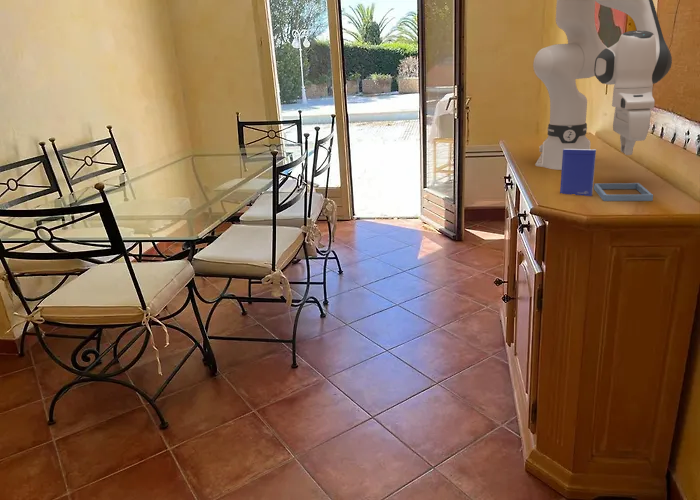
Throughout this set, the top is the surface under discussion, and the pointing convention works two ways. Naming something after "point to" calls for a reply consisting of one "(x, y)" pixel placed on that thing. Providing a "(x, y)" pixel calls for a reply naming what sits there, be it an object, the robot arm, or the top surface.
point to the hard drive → (578, 171)
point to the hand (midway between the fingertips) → (626, 153)
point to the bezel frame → (643, 196)
